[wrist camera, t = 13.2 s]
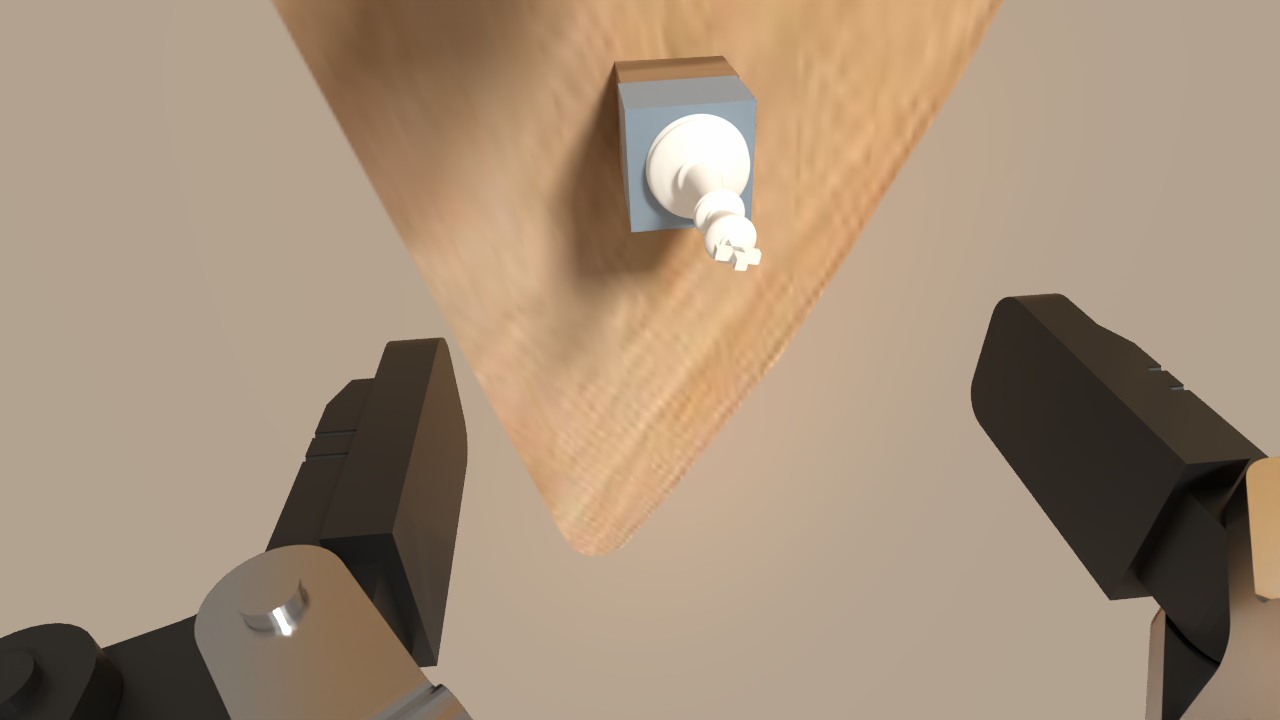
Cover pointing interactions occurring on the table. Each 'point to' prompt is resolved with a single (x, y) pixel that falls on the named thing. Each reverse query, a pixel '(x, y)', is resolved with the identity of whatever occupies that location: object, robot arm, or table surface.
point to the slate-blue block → (654, 110)
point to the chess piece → (706, 183)
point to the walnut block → (667, 75)
